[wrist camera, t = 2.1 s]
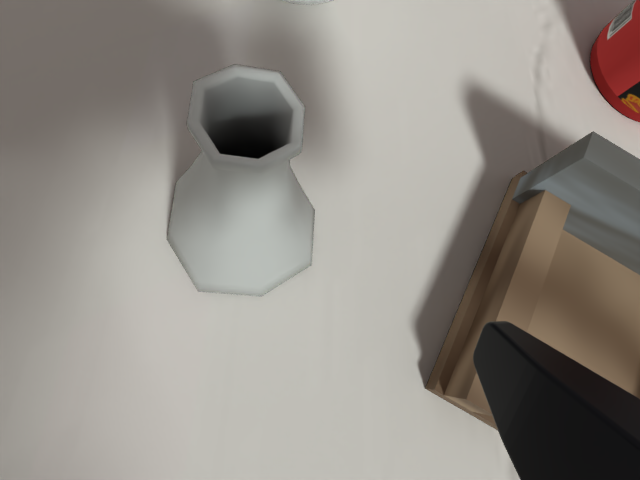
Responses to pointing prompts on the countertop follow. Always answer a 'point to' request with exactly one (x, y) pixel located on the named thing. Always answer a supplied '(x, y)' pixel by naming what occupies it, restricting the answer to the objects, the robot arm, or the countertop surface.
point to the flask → (242, 185)
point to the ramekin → (307, 1)
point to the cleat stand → (557, 272)
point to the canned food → (620, 61)
